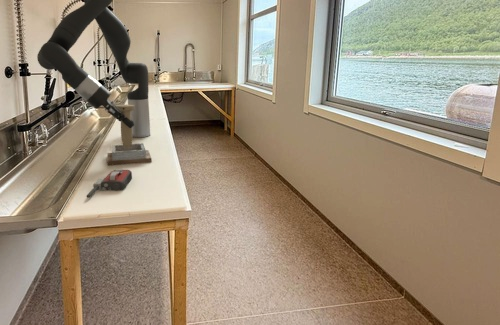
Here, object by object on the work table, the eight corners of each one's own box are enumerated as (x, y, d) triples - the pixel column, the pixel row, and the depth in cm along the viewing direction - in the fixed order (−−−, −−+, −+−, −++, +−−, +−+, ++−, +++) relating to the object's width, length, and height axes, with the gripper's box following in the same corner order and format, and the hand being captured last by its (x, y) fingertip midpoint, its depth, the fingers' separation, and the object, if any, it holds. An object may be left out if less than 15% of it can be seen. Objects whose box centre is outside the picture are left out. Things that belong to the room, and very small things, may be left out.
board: (107, 156, 143) (107, 152, 143) (148, 153, 148) (148, 150, 147) (107, 165, 132) (107, 161, 132) (151, 162, 137) (151, 158, 137)
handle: (135, 148, 136) (132, 106, 132) (117, 148, 136) (113, 106, 132) (137, 144, 141) (135, 104, 137) (120, 144, 140) (117, 104, 136)
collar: (112, 152, 143) (111, 145, 142) (143, 150, 147) (143, 143, 146) (112, 160, 133) (112, 152, 132) (146, 158, 136) (145, 150, 135)
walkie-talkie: (106, 177, 121) (84, 201, 102) (104, 164, 120) (82, 186, 100) (134, 177, 121) (117, 201, 102) (133, 164, 120) (116, 186, 101)
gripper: (100, 85, 123) (140, 121, 131) (100, 82, 136) (138, 114, 144) (84, 102, 123) (125, 137, 131) (86, 97, 136) (124, 129, 143)
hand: (132, 125), depth 137 cm, fingers closed on handle, 3 cm apart
